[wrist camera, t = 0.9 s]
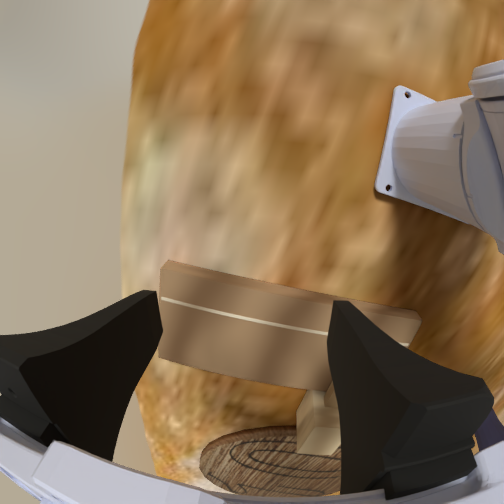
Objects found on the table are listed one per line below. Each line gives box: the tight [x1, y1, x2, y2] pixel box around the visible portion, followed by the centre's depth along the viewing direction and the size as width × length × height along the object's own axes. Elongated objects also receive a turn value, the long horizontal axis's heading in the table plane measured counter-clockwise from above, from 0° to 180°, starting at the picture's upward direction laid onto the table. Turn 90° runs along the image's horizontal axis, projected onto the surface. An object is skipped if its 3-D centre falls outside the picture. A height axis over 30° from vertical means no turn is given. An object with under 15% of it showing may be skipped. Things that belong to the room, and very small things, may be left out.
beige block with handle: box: [296, 381, 341, 455], centre depth 22 cm, size 4×14×6 cm, turn 169°
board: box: [158, 260, 422, 392], centre depth 22 cm, size 21×9×2 cm, turn 79°
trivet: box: [199, 426, 341, 497], centre depth 31 cm, size 25×25×2 cm
